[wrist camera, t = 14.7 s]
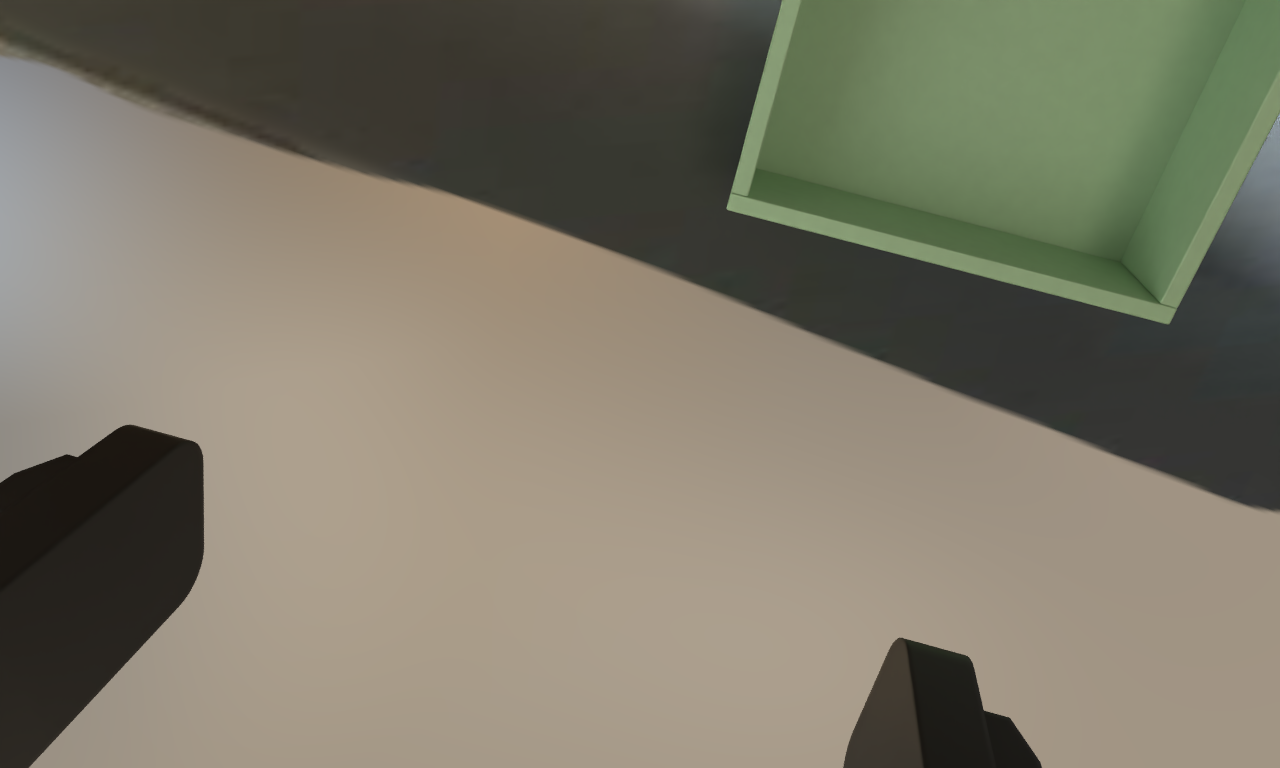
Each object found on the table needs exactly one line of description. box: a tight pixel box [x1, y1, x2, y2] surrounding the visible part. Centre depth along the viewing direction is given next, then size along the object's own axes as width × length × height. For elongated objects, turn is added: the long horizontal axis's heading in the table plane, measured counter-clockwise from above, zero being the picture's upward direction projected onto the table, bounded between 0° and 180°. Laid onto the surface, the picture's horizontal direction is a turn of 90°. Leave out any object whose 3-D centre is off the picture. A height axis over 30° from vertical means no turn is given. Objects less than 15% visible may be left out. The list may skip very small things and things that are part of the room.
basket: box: [727, 0, 1280, 324], centre depth 31 cm, size 13×15×5 cm
